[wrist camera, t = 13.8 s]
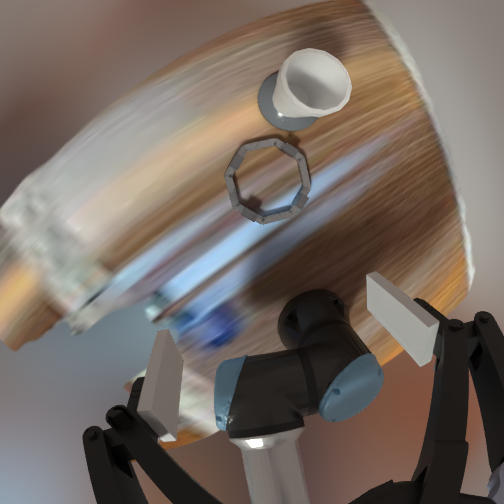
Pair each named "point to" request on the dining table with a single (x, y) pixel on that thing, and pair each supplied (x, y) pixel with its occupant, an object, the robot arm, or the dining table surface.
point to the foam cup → (311, 84)
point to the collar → (299, 199)
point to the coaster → (273, 115)
